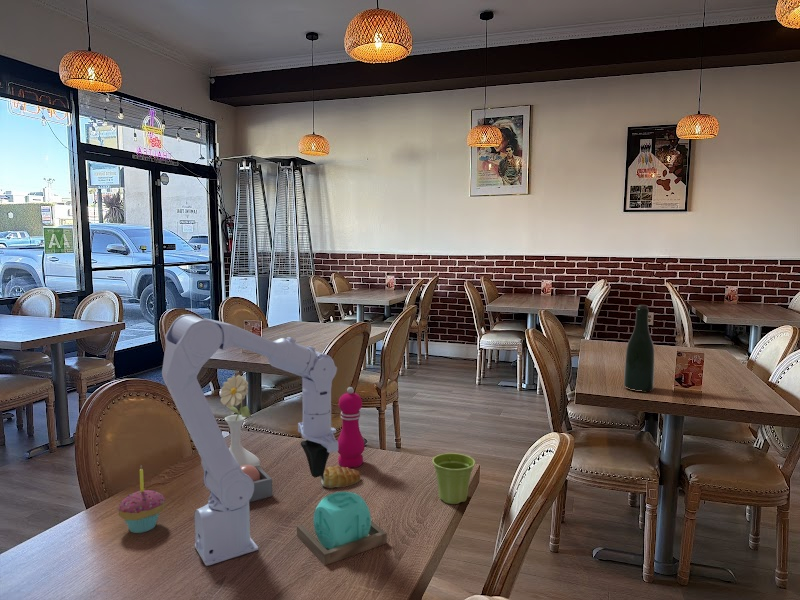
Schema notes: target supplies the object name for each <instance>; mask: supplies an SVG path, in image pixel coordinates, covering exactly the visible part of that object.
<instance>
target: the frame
mask: <svg viewBox="0 0 800 600" xmlns="http://www.w3.org/2000/svg"><path fill="white" fill-rule="evenodd" d="M296 536H297V538H299V540H301V542H302V543H303V544H304V545H305V546H306V547H307V548H308V549H309V550H310V551H311V552H312V554H313V555H314V556H315V557H316V558H317V559H319V561H320V562H321V563H322V564H323V565H324V566H327V565H330V564H333V563H336V562H339V561H341V560H344V559H347V558H350V557H353V556H355V555H358V554H361V553H363V552H366V551H369V550H372V549H375V548H377V547H380V546H383V545H385V544H388V534H387V532H386V531H385V530H384V529H382V528H381V527H380V526H379V525H378V524H376V523H375V522H373V521H372V520H371V527H370V530H369V533H368V535H367V537H365V538H362V539H359V540H356V541H353V542H350V543H347V544H344V545H341V546H338V547H336V548H333V549H330V550H329V549H327V548H325V547H324V546H323V545H322V544H321V543H320V541H319V539H318V538H316V537H315V536H314V535H313V534H312V533H311V532H310V531H309V530H308V529H307V528H306V527H305V526H304V525H303V524H299V525H296Z"/></svg>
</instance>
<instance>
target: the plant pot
mask: <svg viewBox="0 0 800 600" xmlns="http://www.w3.org/2000/svg"><path fill="white" fill-rule="evenodd" d="M431 462H432V465H433V466H434V470H435V473H436V481H437V490H438V497H439V498H438V499H439V500H441V501H443V502H444V503H446V504H451V505H458V504H460V503H465V502H466V501H467V499H468V493H469V488H470V487H469V486H470V481H471V480H470V479H471V475H472V474H471V473H472V471H473V468H474V466H475V465H476V460H475V459H474V458H472V456H469V455H466V454H462V453H455V452H447V453H440V454H438V455H436V456H435V455H434V456H433V457H432V461H431Z"/></svg>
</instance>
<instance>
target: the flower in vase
mask: <svg viewBox="0 0 800 600" xmlns="http://www.w3.org/2000/svg"><path fill="white" fill-rule="evenodd" d="M222 385H223V386H222V387H221V390H220V393H219V397H221V398H220V403H222V405H223V406H225V407H226V408H228V409H229V410H231V411H232V412H234V413H235V414H232V415H228V416H225V417H224V421H225V422H226V424H227V425H228V428H229V431H230V432H229V433H230V446H229V447H228V448H229V450H230V452H231V454H232V455H233V457H234V458H235V459H236V461H237V462H238V464H239V465H240V466H243V465H252V466H259V467H261V460H260V459H259V457H257V456H256V455H255V454H254V453H252V452H250V451H249V450H247V449H246V448H245V447H243V445H242V441H241V434H242V433H241V431H242V427H243V426H242V425H243V423H244V422H245V420H246V418H249V417H251V415H252V414H251V413H250V409H249V407H248V406H247V405H246V406H243V400H245V398H246V395H247V394H248V392H249V390H248V389H249V386H248V385H249V382H248V381H247V380H246V378H243V376H241V375H240V374H238V375H237V376H235V375H232V376H231V377H229V378H227V381H224V382H223V384H222ZM238 405H240V409H239V410H238V408H236V407H237V406H238Z"/></svg>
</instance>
